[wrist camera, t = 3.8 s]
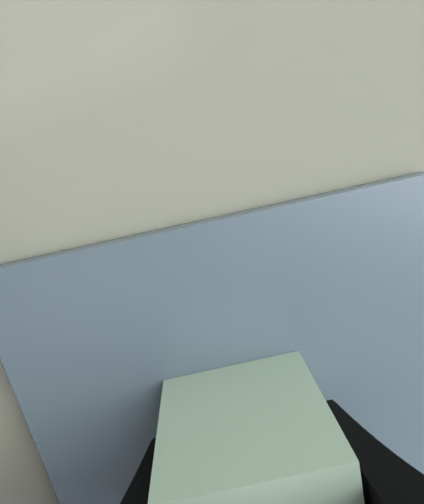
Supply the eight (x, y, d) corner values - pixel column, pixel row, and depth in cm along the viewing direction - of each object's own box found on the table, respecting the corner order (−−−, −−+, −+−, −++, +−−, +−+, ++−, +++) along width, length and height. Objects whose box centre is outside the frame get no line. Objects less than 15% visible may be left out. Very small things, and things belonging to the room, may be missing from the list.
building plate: (442, 516, 15) (452, 531, 14) (105, 589, 15) (102, 607, 14) (420, 172, 11) (433, 172, 11) (-23, 269, 11) (-34, 275, 11)
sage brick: (317, 460, 13) (378, 611, 9) (194, 487, 13) (194, 651, 9) (298, 350, 12) (359, 461, 8) (163, 380, 12) (146, 507, 8)
